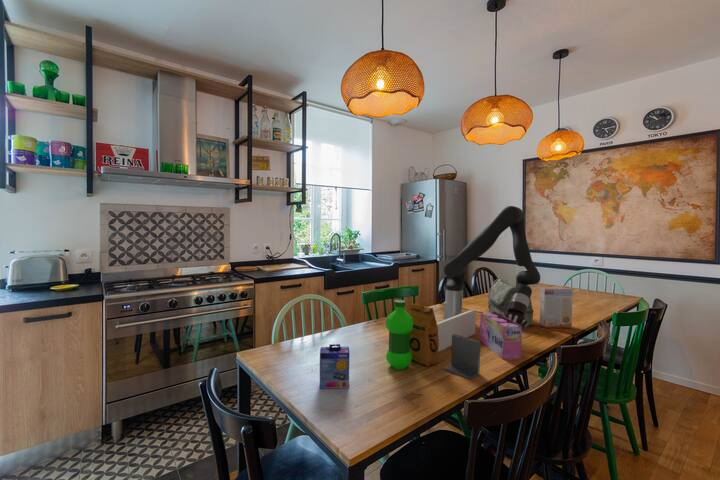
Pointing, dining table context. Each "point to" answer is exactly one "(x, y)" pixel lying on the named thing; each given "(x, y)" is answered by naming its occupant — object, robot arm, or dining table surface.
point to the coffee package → (424, 335)
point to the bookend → (464, 357)
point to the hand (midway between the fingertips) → (507, 337)
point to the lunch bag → (505, 299)
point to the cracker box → (556, 307)
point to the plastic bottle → (399, 336)
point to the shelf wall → (456, 328)
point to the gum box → (501, 335)
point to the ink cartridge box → (334, 367)
